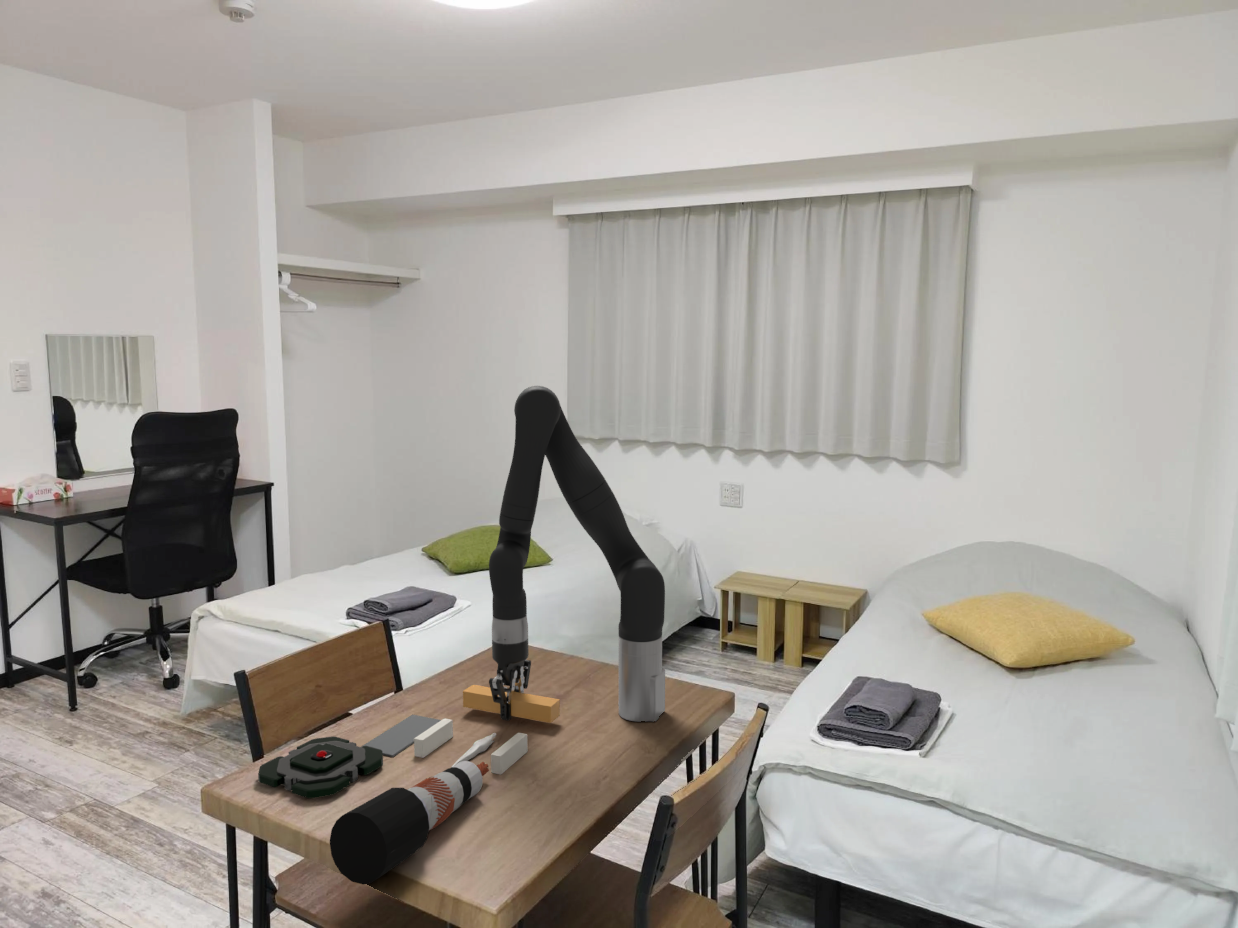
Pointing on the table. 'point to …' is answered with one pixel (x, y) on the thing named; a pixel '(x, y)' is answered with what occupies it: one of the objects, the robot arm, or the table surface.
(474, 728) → the table surface
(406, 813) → the cable
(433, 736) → the rails
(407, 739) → the mat
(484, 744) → the white tapered spike
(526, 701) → the bar
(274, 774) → the flat green button pad
